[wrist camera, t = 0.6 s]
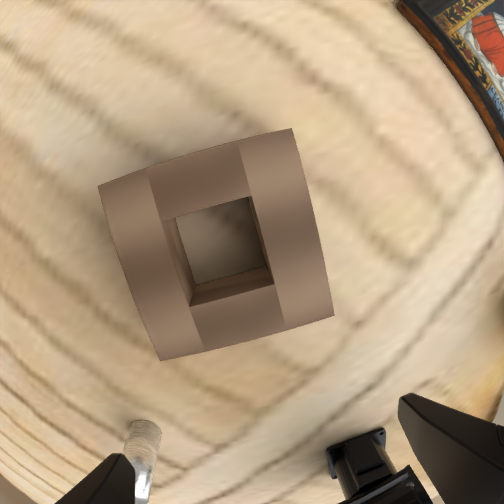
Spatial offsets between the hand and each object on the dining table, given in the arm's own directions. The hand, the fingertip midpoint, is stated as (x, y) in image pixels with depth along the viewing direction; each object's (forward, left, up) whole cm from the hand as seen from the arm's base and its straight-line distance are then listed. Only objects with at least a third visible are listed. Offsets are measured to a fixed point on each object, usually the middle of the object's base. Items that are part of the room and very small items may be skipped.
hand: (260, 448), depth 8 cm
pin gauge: (-11, +12, -14) cm, 21 cm away
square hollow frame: (+4, 0, -14) cm, 14 cm away
